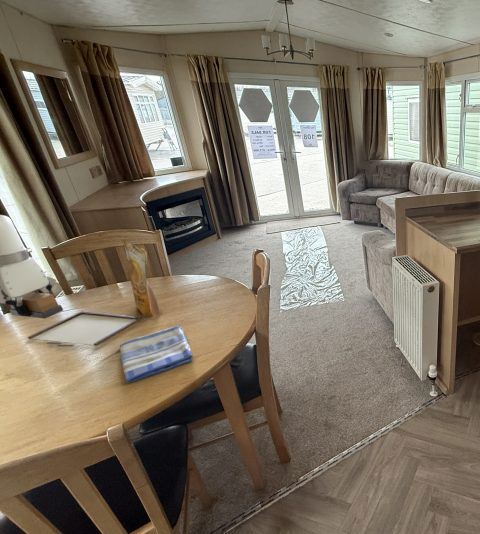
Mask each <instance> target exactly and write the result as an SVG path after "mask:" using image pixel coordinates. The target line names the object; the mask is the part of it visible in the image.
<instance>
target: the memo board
mask: <svg viewBox="0 0 480 534" xmlns="http://www.w3.org/2000/svg"><path fill="white" fill-rule="evenodd" d="M143 319H144V317H143V316H136V315H125V314H115V313H104V312H95V311H94V312H93V311H83V310H81V311H79V312H78V313H75V314H73V315H71V316H69V317H66V318H65V319H62V320H61V321H58V322H56V323H54V324H51V325H50V326H48V327H46V328H43V329H42V330H39V331H37V332H35V333H33V334H31V335H29V336H28V337H27V338H28V339H29V340H30V339H31V340H41V341H48V342H58V343H68V344H76V345H85V346H86V345H87V346H95V347H97V346H99V345H100V344H102V343H104V342H106V341H107V340H109V339H111V338H112V337H114V336H116V335H118V334H120V333H121V332H123V331H124V330H126V329H128V328H130V327H131V326H133V325H135V324H136V323H138V322H140V321H141V320H143Z"/></svg>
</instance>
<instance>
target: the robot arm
mask: <svg viewBox="0 0 480 534" xmlns="http://www.w3.org/2000/svg"><path fill="white" fill-rule="evenodd" d="M32 252H33V250H32V248H30V247H25V245H24V243H23V241H22V239H21V237H20V235H19V233H18V230H17V229H16V227H15V225H14V223H13V221H12V219H11V218H10V217H8V216H7V215H3V214H0V304H3V305H8V306H10V305H12V306H14V308H15V309H16V311H17V313H18V314H19V315H21V316H20V317H26V316H27V318H30V317H29V316H31V314H30V311H29V309H28V307H27V306H26V305H25V304H23V303H22V295H24V294H27V293H30V292H35V293H45V294H51V290H52V288H53V286H54V285H55V283H56V282H57V279H55V278H53V277H50V276H48V275H47V274H46V272H45V271H44V270H43V268H42V267H41V265H40V264H39V263H38V262H37V260H36V259H35V258H34V257H32V256H30V253H32ZM5 297H9V300H6V298H5Z"/></svg>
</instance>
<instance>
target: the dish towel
mask: <svg viewBox="0 0 480 534" xmlns="http://www.w3.org/2000/svg"><path fill="white" fill-rule="evenodd" d="M119 347H120V349H119V350H120V360H121V365H122V371H123V374H124V379H125V384H130V383H134V382H136V381H141V380H142V379H144V378H145V379H146V378H148V377H151V376H153V375H157V374H159V373H162V372H165V371H169V370H172V369H173V368H177V367H179V366H182V365H185V364H188V363H190V362H192V361H193V359H192V358H194V355H193V353H192V350H191V346H190V345H189V343H188V340H187V338H186V335H185V333H184V328H183V327H182V326H181V325H174V326H172V327H168V328H165V329H161V330H158V331H154V332H151V333H149V334H145V335H143V336H137V337H134V338H131V339H129V340H126V341H123V342H122V343H121V344H120V345H119Z"/></svg>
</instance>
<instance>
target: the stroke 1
mask: <svg viewBox="0 0 480 534" xmlns="http://www.w3.org/2000/svg"><path fill="white" fill-rule="evenodd" d="M47 344H53V345H63V342H58V341H48V342H47Z"/></svg>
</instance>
